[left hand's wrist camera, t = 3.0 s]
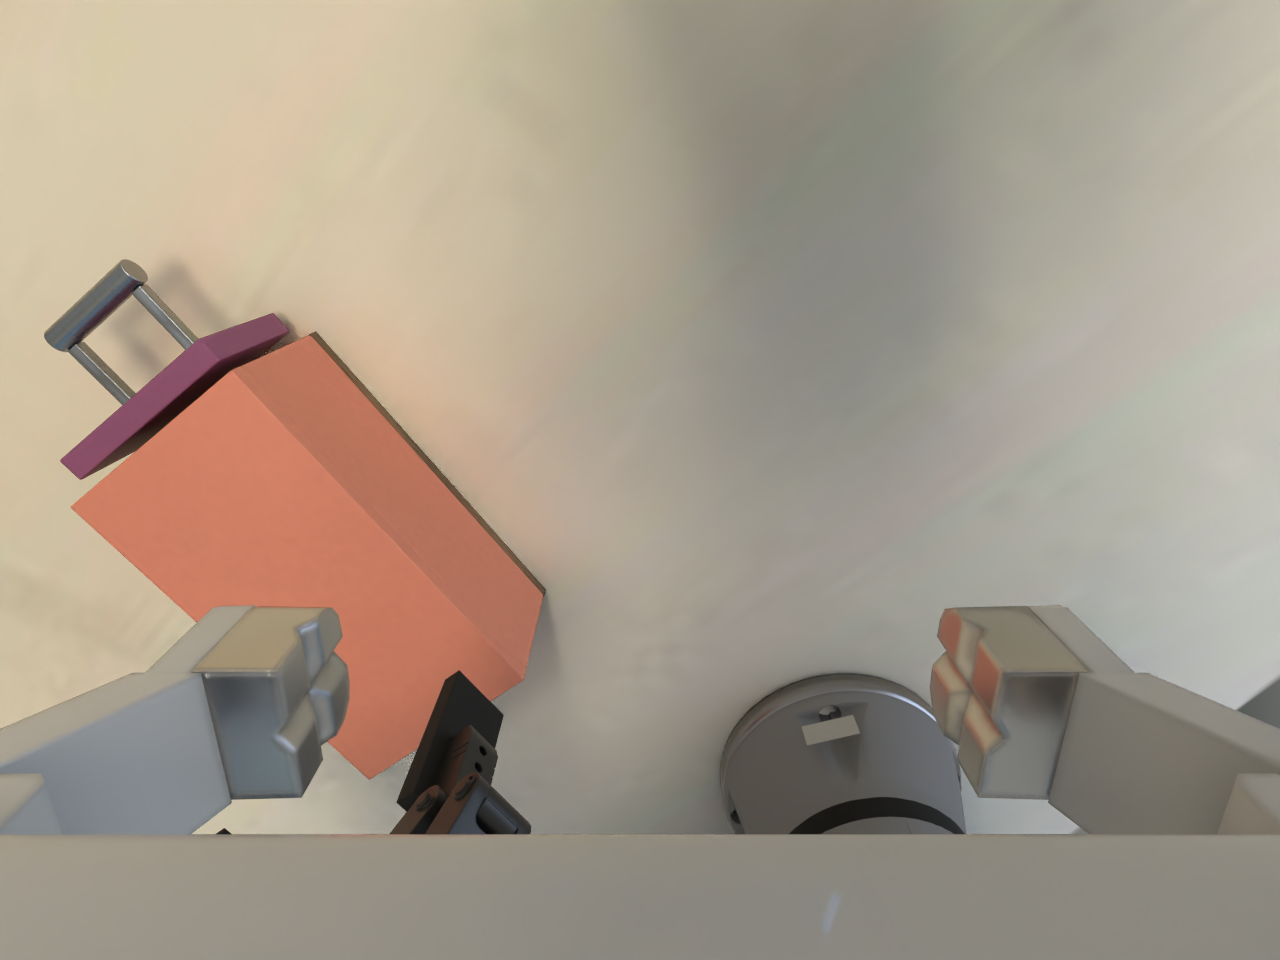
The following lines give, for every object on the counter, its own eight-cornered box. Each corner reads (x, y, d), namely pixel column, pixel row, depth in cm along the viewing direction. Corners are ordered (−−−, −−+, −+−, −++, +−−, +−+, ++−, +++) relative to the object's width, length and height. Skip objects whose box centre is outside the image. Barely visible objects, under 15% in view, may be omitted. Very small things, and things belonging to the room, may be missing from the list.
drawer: (75, 340, 40) (-38, 371, 33) (197, 228, 38) (102, 237, 31) (385, 647, 47) (342, 724, 40) (502, 565, 45) (478, 632, 38)
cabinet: (181, 443, 43) (69, 507, 34) (315, 331, 41) (230, 369, 32) (416, 677, 48) (369, 780, 40) (545, 589, 46) (524, 679, 38)
